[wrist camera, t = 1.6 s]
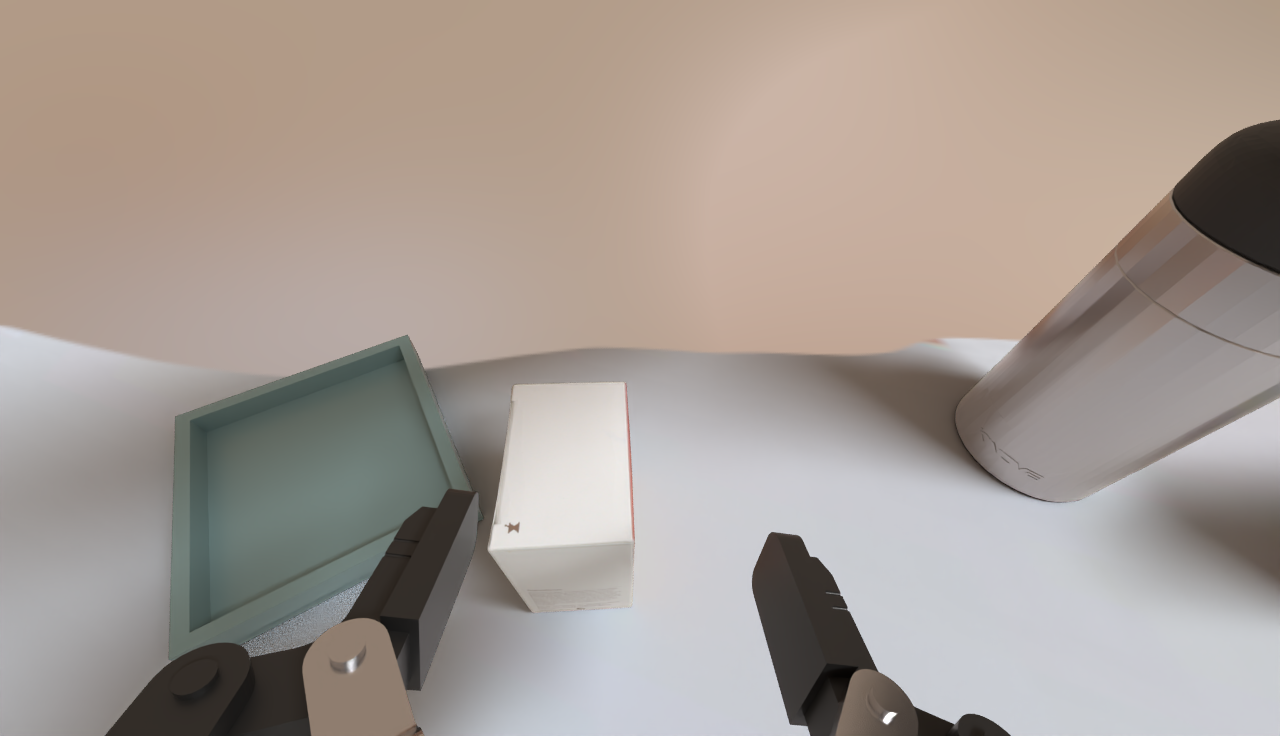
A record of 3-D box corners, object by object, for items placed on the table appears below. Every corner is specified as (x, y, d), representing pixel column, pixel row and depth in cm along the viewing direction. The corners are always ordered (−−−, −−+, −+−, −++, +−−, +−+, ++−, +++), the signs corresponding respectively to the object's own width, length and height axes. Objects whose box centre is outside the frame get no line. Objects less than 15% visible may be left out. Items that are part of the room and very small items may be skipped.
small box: (632, 609, 25) (637, 548, 17) (529, 615, 25) (483, 555, 16) (627, 475, 30) (628, 377, 22) (542, 478, 30) (511, 380, 22)
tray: (417, 352, 36) (407, 334, 34) (483, 518, 28) (474, 505, 26) (198, 433, 31) (175, 416, 29) (201, 665, 23) (168, 659, 21)
